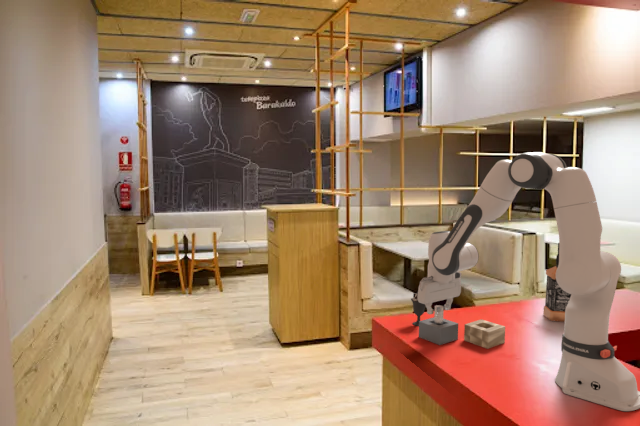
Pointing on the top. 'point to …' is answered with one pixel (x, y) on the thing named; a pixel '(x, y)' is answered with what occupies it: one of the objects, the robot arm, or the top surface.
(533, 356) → the top surface
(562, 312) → the whiskey bottle
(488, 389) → the top surface
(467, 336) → the mount block
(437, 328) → the dock block
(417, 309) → the sundae
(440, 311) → the pin
